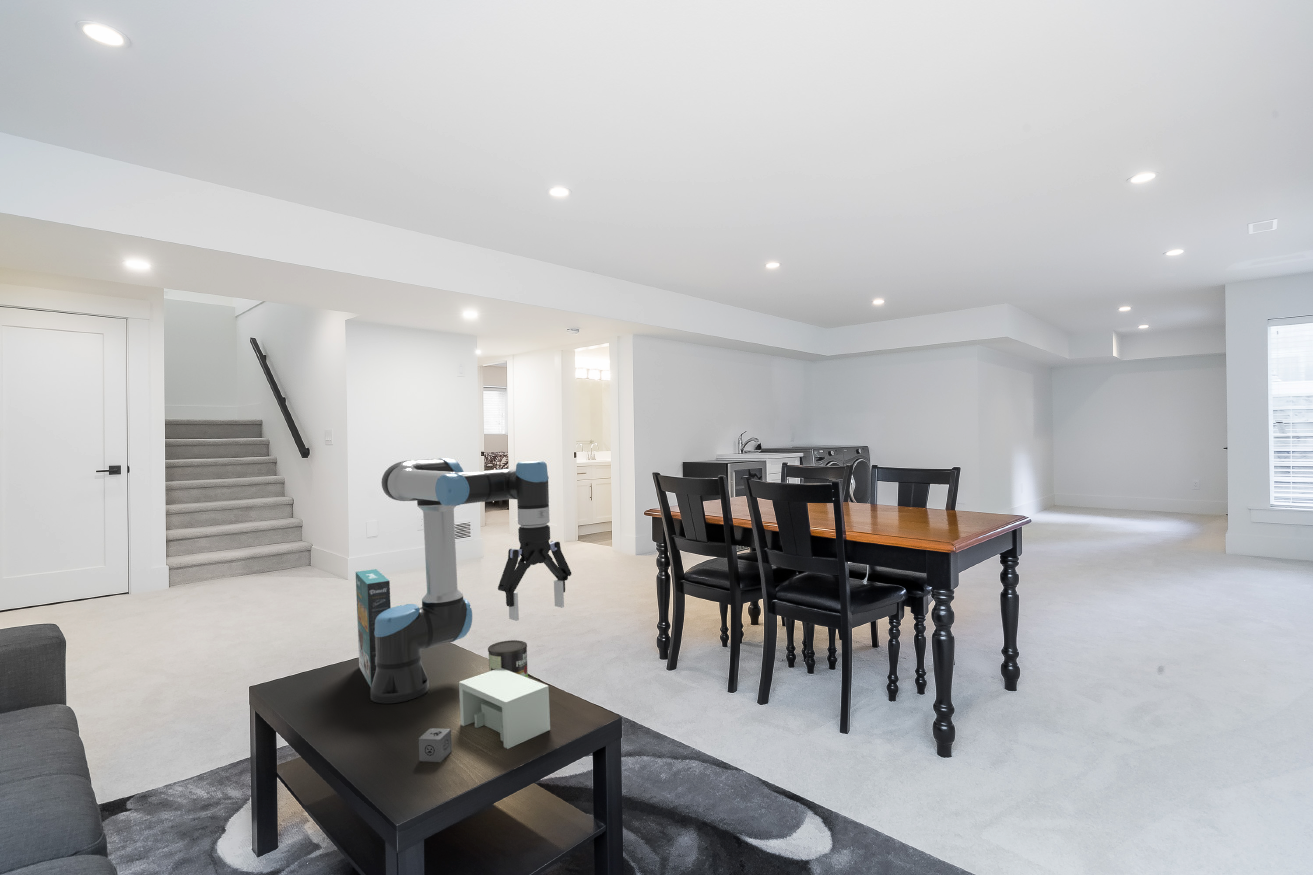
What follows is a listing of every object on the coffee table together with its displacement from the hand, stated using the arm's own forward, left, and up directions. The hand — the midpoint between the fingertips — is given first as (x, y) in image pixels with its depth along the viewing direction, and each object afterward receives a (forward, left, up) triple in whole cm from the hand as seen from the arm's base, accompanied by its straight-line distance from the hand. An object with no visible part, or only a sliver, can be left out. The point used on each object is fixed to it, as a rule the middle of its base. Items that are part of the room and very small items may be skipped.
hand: (537, 612), depth 156 cm
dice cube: (-7, -24, -28) cm, 37 cm away
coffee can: (-21, +5, -28) cm, 35 cm away
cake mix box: (-69, -10, -28) cm, 75 cm away
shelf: (-7, -6, -27) cm, 29 cm away
